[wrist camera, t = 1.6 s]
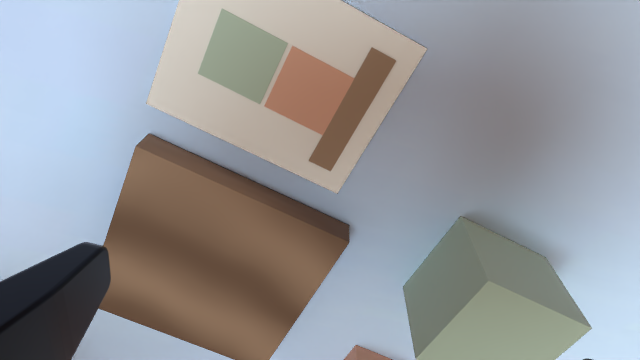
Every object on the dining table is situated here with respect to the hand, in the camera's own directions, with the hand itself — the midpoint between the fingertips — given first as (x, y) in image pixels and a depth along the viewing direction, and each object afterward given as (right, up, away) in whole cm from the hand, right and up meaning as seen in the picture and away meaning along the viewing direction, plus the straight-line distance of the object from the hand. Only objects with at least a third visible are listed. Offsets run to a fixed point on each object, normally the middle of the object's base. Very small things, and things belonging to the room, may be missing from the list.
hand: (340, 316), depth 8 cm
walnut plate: (-6, -2, +16) cm, 17 cm away
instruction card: (-2, +7, +11) cm, 13 cm away
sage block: (+8, -3, +16) cm, 18 cm away
